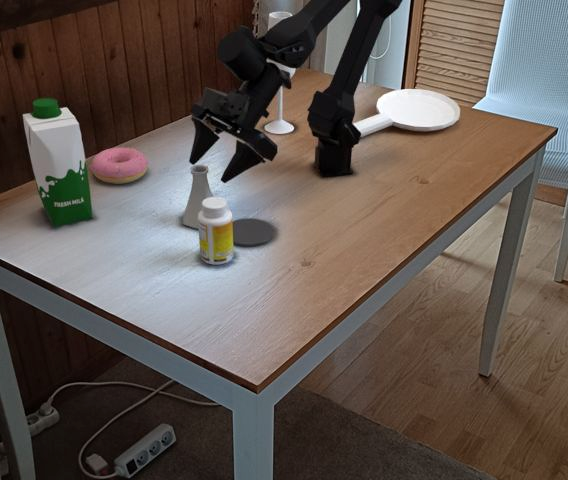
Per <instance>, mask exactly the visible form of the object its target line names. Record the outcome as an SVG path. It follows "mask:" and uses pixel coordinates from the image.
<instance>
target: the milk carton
mask: <svg viewBox="0 0 568 480" xmlns="http://www.w3.org/2000/svg"><path fill="white" fill-rule="evenodd" d="M32 108H33V111H31V112H28V113H23V114H22V119H23V128H24V133H25V137H26V141H27V147H28V152H29V157H30V162H31V166H32V167H31V168H32V171H33V176H34V180H35V186H36V190H37V193H38V196H39V198H40V201H41V204H42V206H43V209H44V211H45V213H46V215H47V217H48V218H49V221H50V222H51V224H52V226H53V227H54V228H56V227H60V226H61V227H62V226H65V225H70V224H76V223H79V222H84V221H88V220H92V219H94V218H93V208H92V197H91V186H90V180H89V179H90V178H89V173H88V167H87V161H86V155H85V149H84V144H83V140H82V132H81V128H80V123H79V122H78V120H77V118H76V116H75V115H73V113H72V112H71V111H70V110H69V108H68V107H67V106H66V107H59V103H58V100H57V99H55V98H53V97H42V98H37V99H35V100H34V101H32Z"/></svg>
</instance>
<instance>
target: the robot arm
mask: <svg viewBox="0 0 568 480" xmlns="http://www.w3.org/2000/svg"><path fill="white" fill-rule="evenodd" d="M351 1H352V0H309V1H308V2H307V3H306V4H305V5H304V6H303V7H302V8H301V9H300V10H299V11H298V12H297V13H295V14H294V15H293V14H292V16H290V17H288V18H285V19H282V20H281V21H280V22H278V23H277V24H276V25H274V26H273V27H272V28H270V29H269V30H268V29H267V31H266V32H265V34H262V35H260V36H257V37H256V36H255V35H254V32H253V31H252V30H251V29H250V28H249V27H247V26H245V25H239V26H238V28H237V30H234V31H231V32H229V33H228V34H226V35H225V36H224V37H223V38H221V39H220V41H219V42H218V44H217V46H216V50H215V55H216V59H217V60H218V61H219V62H220V63H221V64H222V65H223V66H224V67H225V68H226V69H228V70H229V71H230V72H231V74H232V75H233V76H235V77H236V79H237V80H238V81H241V82H243V83H242V84H241V85H240V87H239V89H238V88H236V87H233V88H232V89H230V91H229V92H228V93H226V92H223V91H220V90H217V89H214V88H210V87H205V88H204V91H203V95H202V98H201V101H198V102H194V103H193V105H192V106H191V108H190V109H189V111H188V114H190V115H191V119H190V120H191V121H192V122H193V125H194V130H195V131H194V138H193V143H192V147H191V151H190V155H189V159H188V163H189V164H191V166H194V165H196V164H197V163H198V162H199V161H200V160H201V159H202V158H203V157H204V156H205V155H206V154H207V152H208V151H210V149H212V147H213V146H214V145H216V143H217V142H218V141H219V140H220V138H221V137H220V136H219V134H222V133H226V134H228V135H230V136H232V137H234V138H235V139H236V141H235V152H234V154H233V156H232V157H231V159H230V161H229V162H228V163H227V165H226V168H225V170H224V171H223V172H222V175H221V177H220V182H222V183H223V184H227V183H228V182H230V181H232V180H233V179H235V178H236V177H238V176H239V175H241V174H242V173H244V172H246V171H248V170H249V169H251V168H253V167H254V168H255V166H258V165H259V164H265V163H266V160H267V161H268V162H271V163H272V162H273V161H274V159H275V157H276V156H277V154H278V145H277V144H276V143H275V141H273V140H272V139H271V138H270V137H269V136H268V135H267V134H266V133H265V132H263V131H262V130H259V129H257V128H256V127H257V125H258V123H259V122H260V120H261V119H262V118H265V119H268V117H269V116H270V112H269V111H268V110H267V109H268V108H269V106H270V105H271V104H272V101H273V100H274V98H275V97H276V96H277V92H278V90H279V89H280V87H281V86H282V88H285V89H287V90H291V89H292V87H293V86H292V80H291V79H290V73H289V72H287V71H284V70H280V69H279V68H278V66H277V65H276V64H274V63H271V62H267V61H266V60H267V59H269V60H271V61H274V62H276V63H279V64H281V65H284V66H286V67H289V68H296V69H299V68H301V67H302V66H303V65H304V64H305V62H306V61H307V60H308V58H309V57H310V56H311V54H312V53H313V51H314V50H315V48H316V44H317V39H318V37H319V35H320V34H321V32H323V30H324V29H326V27H327V26H328V25H329V24H330V23H331V22H332V21H333V20H334V19H335V18H336V17H337V16H338V14H339V13H341V12H342V10H343V9H344V8H345V7H346V6H347V5H348V4H349V3H350V2H351ZM402 2H403V0H358V3H359V10H358V14H357V16H356V19H355V21H354V24H353V26H352V29H351V31H350V33H349V36H348V38H347V41H346V44H345V47H344V48H343V51H342V53H341V56H340V58H339V61H338V64H337V66H336V69H335V71H334V73H333V76H332V79H331V81H330V84H329V86H328V87H326V88H325V89H324V90H323V91H320V90H316V91H315V93H314V94H313V97H312V100H311V102H310V105H309V107H308V108H307V109H306V110H307V112H308V114H307V118H306V121H307V123H308V127H309V128H310V131H311V135H312V137H314V138H317V145H316V146H315V147H314V162H313V165H314V166H315V168H316V169H317V170H318V172H319V173H320V174H321V176H322V177H323V178H324V177H336V176H345V175H352V174H354V169H353V168H352V156H353V149H354V148H355V146H356V145H359V143H360V140H361V138H362V137H361V132H360V131H359V130H358V129H357V128H356V127H355V126H354V125H353V122H354V119H355V115H356V106H355V105H356V104H355V93H356V91H357V89H358V86H359V84H360V81H361V78H362V76H363V73H364V72H365V70H366V67H367V65H368V62H369V59H370V57H371V55H372V52H373V49H374V48H375V45H376V42H377V40H378V37H379V35H380V32H381V30H382V27H383V25H384V24H385V23H384V22H385V21H386V20H387V19H388V18H389V17H390V16H391V15H393V14H394V12H396V11H397V10H398V9H399V8H400V6H401V4H402ZM360 137H361V138H360Z"/></svg>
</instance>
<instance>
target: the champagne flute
mask: <svg viewBox="0 0 568 480" xmlns="http://www.w3.org/2000/svg"><path fill="white" fill-rule="evenodd" d="M268 15H269V16H268V24H267V31H268V30H269V29H270V28H272V27H273V26H274V25H276V24H277V23H278V22H280V21H281V20H282V19H285V18H288V17H290V16H293V14H292V13H291V12H287V11H273V12H270V13H269V14H268ZM266 61H267V62H271V63H274V64H276V65H277V66H278V68H279V69H280V70H284V71H287V72H289V73H290V80H291V79H292V78H293V77H294V75H295V73H296V68H289V67H286V66H284V65H281V64H279V63H276V62H274V61H271V60H269V59H267V60H266ZM294 129H295V126H293V124H291V123H289V122H288V121H286V120H284V119H283V87H282V86H281V87H280V89H279V90H278V92H277V94H276V119H274V120H272V121H271V122H269V123H267V124H266V125H264V130H265V131H266V132H268V133H271V134H277V135H283V134H289V133H291V132H294Z"/></svg>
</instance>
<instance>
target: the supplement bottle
mask: <svg viewBox="0 0 568 480" xmlns="http://www.w3.org/2000/svg"><path fill="white" fill-rule="evenodd" d="M232 221H233V214H232V212H231V211H230V209H228V202H227V200H226V199H225V198H223V197H220V196H213V197H209V198H206V199H204V200H203V201H202V210H201V211H200V212H199V214H198V241H199V242H198V243H199V254H200V258H201V260H202V261H203V262H205V263H207V264H208V265H214V266H215V265H223V264H226V263H229V262H230V261H231V260H232V259H233V257H234V244H233V225H232Z"/></svg>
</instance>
